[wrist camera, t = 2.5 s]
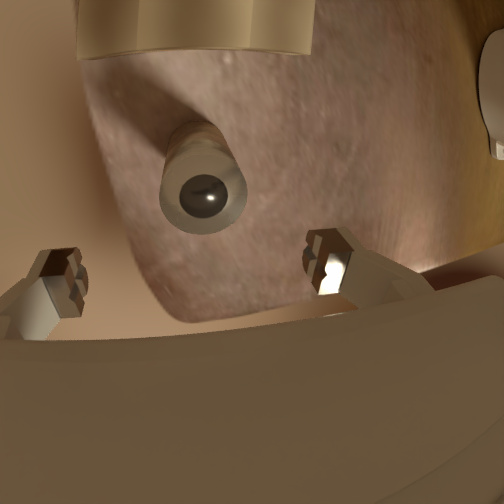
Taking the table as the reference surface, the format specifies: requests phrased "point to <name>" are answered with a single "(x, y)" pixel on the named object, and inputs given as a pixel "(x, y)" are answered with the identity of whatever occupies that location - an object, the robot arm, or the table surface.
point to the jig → (193, 26)
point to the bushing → (201, 180)
